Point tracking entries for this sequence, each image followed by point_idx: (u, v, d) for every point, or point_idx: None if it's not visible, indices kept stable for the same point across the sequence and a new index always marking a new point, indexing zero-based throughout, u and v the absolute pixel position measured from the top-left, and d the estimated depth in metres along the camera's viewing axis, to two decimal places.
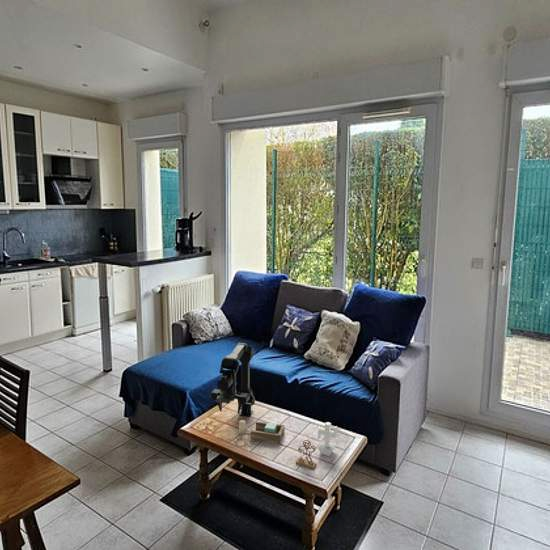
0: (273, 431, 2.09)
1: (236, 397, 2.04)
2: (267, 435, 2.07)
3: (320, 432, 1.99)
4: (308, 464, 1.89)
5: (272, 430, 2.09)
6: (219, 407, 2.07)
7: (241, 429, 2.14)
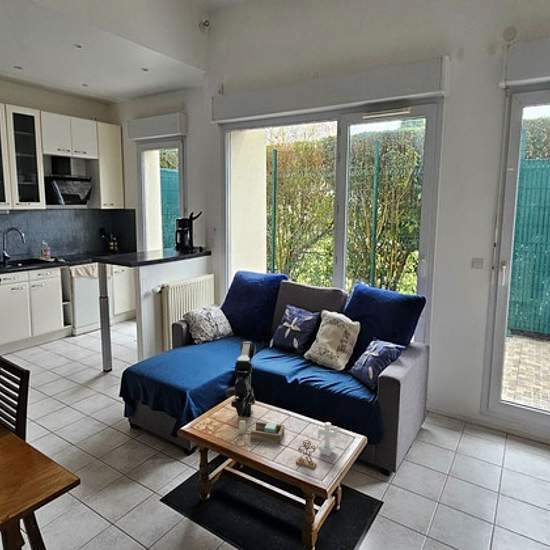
0: (273, 431, 2.09)
1: None
2: (267, 435, 2.07)
3: (320, 432, 1.99)
4: (308, 464, 1.89)
5: (272, 430, 2.09)
6: None
7: (241, 429, 2.14)
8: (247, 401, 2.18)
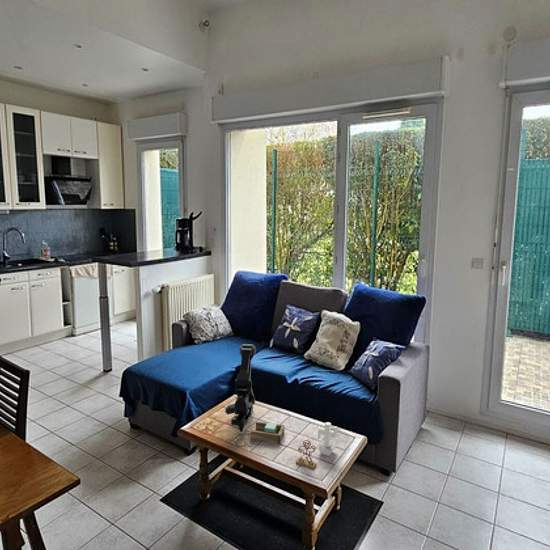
0: (273, 431, 2.09)
1: None
2: (267, 435, 2.07)
3: (320, 432, 1.99)
4: (308, 464, 1.89)
5: (272, 430, 2.09)
6: None
7: None
8: (245, 421, 2.17)
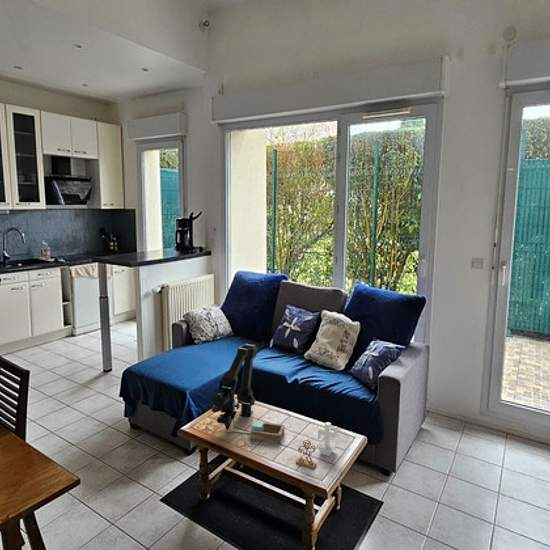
0: (260, 429, 2.10)
1: None
2: (267, 435, 2.07)
3: (320, 432, 1.99)
4: (308, 464, 1.89)
5: (259, 428, 2.10)
6: None
7: None
8: None
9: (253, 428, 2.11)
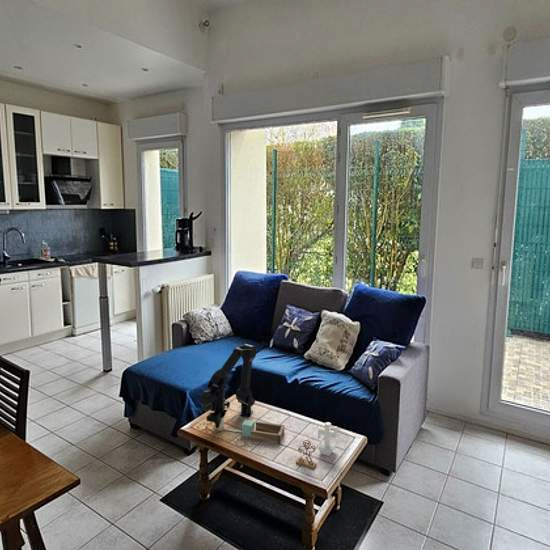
0: (250, 428, 2.11)
1: None
2: (267, 435, 2.07)
3: (320, 432, 1.99)
4: (308, 464, 1.89)
5: (249, 427, 2.11)
6: None
7: (219, 426, 2.17)
8: None
9: (243, 427, 2.12)
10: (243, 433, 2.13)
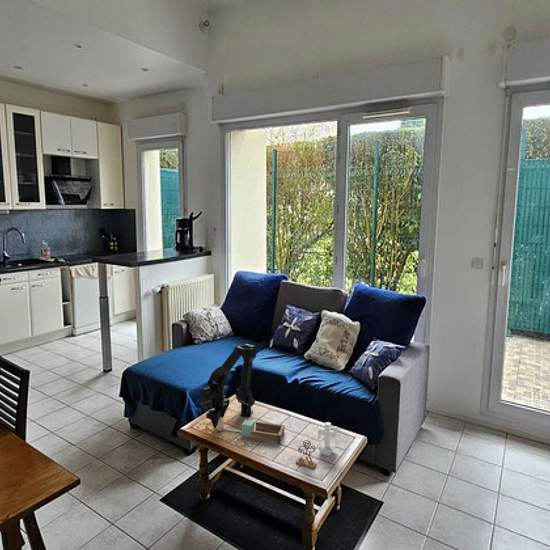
0: (250, 428, 2.11)
1: None
2: (267, 435, 2.07)
3: (320, 432, 1.99)
4: (308, 464, 1.89)
5: (249, 427, 2.11)
6: (219, 414, 2.23)
7: (219, 426, 2.17)
8: (223, 412, 2.22)
9: (243, 427, 2.12)
10: (243, 433, 2.13)
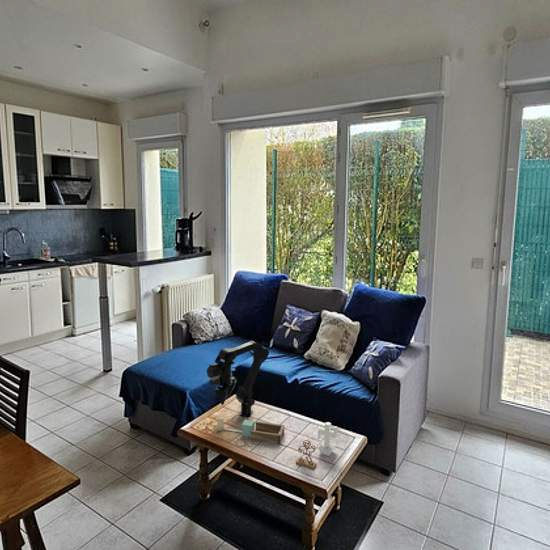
0: (250, 428, 2.11)
1: None
2: (267, 435, 2.07)
3: (320, 432, 1.99)
4: (308, 464, 1.89)
5: (249, 427, 2.11)
6: (227, 392, 2.29)
7: (219, 426, 2.17)
8: (230, 390, 2.28)
9: (243, 427, 2.12)
10: (243, 433, 2.13)
